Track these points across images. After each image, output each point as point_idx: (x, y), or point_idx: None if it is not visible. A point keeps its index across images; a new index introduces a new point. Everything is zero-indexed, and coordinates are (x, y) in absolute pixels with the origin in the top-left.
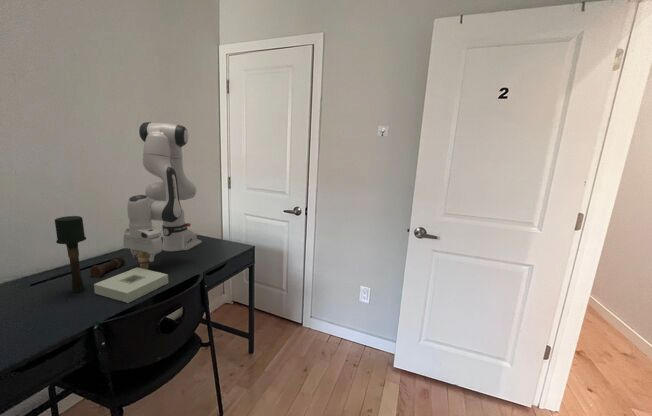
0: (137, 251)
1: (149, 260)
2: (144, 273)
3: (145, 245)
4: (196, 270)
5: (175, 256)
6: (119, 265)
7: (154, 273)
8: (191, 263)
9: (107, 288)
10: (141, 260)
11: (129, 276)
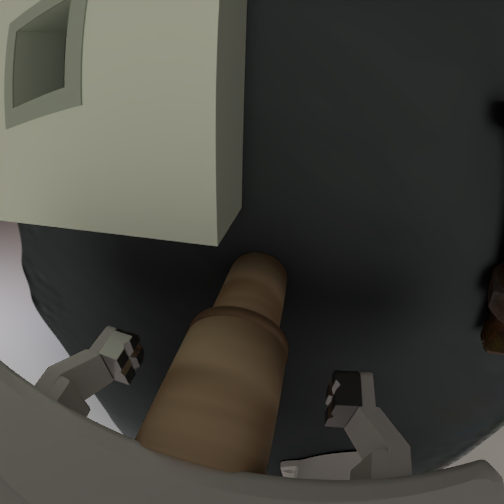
0: (216, 454)
1: (114, 335)
2: (48, 164)
3: (20, 479)
4: (67, 332)
5: (277, 433)
6: (490, 292)
7: (19, 198)
8: (143, 387)
9: None
10: (197, 335)
11: (78, 54)
